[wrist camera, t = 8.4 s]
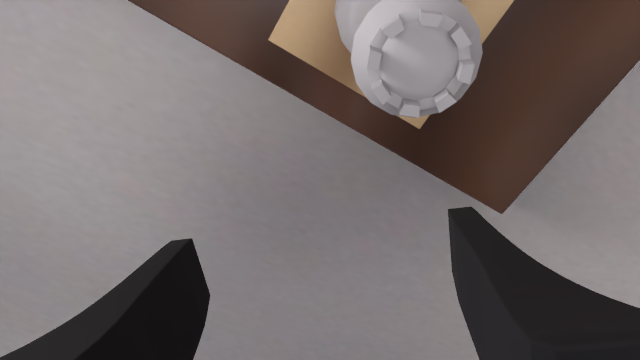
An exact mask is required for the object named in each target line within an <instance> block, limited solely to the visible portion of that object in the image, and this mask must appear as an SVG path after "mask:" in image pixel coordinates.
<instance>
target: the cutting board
mask: <svg viewBox="0 0 640 360" xmlns="http://www.w3.org/2000/svg"><path fill="white" fill-rule="evenodd" d="M128 1H130V2H132V3H134V4H135V5H137V6H139V7H141V8H142V9H144V10H146V11H148V12H149V13H151V14H153V15H155V16H156V17H158V18H160V19H161V20H163V21H165V22H167V23H168V24H170V25H172V26H174V27H175V28H177V29H179V30H181V31H182V32H184V33H186V34H188V35H189V36H191V37H193V38H195V39H196V40H198V41H200V42H202V43H203V44H205V45H207V46H209V47H210V48H212V49H214V50H216V51H217V52H219V53H221V54H223V55H224V56H226V57H228V58H230V59H231V60H233V61H235V62H237V63H238V64H240V65H242V66H244V67H245V68H247V69H249V70H251V71H252V72H254V73H256V74H258V75H259V76H261V77H263V78H265V79H266V80H268V81H270V82H272V83H273V84H275V85H277V86H279V87H280V88H282V89H284V90H286V91H287V92H289V93H291V94H293V95H294V96H296V97H298V98H300V99H301V100H303V101H305V102H307V103H308V104H310V105H312V106H314V107H315V108H317V109H319V110H321V111H322V112H324V113H326V114H328V115H329V116H331V117H333V118H335V119H336V120H338V121H340V122H342V123H343V124H345V125H347V126H349V127H350V128H352V129H354V130H356V131H357V132H359V133H361V134H363V135H364V136H366V137H368V138H370V139H371V140H373V141H375V142H376V143H378V144H380V145H382V146H383V147H385V148H387V149H389V150H390V151H392V152H394V153H396V154H397V155H399V156H401V157H403V158H404V159H406V160H408V161H410V162H411V163H413V164H415V165H417V166H418V167H420V168H422V169H424V170H425V171H427V172H429V173H431V174H432V175H434V176H436V177H438V178H439V179H441V180H443V181H445V182H446V183H448V184H450V185H452V186H453V187H455V188H457V189H459V190H460V191H462V192H464V193H466V194H467V195H469V196H471V197H473V198H474V199H476V200H478V201H480V202H481V203H483V204H485V205H487V206H488V207H490V208H492V209H494V210H495V211H497V212H499V213H501V214H502V213H503V212H504V211H505V210H506V209H507V208H508V207H509V206H510V204H511V203H512V202H513V201H514V200H515V199H516V198H517V197H518V196H519V194H520V193H521V192H522V191H523V190H524V189H525V188H526V187H527V185H528V184H529V183H530V182H531V181H532V180H533V179H534V178H535V176H536V175H537V174H538V173H539V172H540V171H541V170H542V169H543V167H544V166H545V165H546V164H547V163H548V162H549V161H550V160H551V159H552V157H553V156H554V155H555V154H556V153H557V152H558V151H559V150H560V148H561V147H562V146H563V145H564V144H565V143H566V142H567V141H568V139H569V138H570V137H571V136H572V135H573V134H574V133H575V132H576V131H577V129H578V128H579V127H580V126H581V125H582V124H583V123H584V122H585V120H586V119H587V118H588V117H589V116H590V115H591V114H592V113H593V111H594V110H595V109H596V108H597V107H598V106H599V105H600V104H601V102H602V101H603V100H604V99H605V98H606V97H607V96H608V95H609V94H610V92H611V91H612V90H613V89H614V88H615V87H616V86H617V85H618V83H619V82H620V81H621V80H622V79H623V78H624V77H625V76H626V74H627V73H628V72H629V71H630V70H631V69H632V68H633V67H634V65H635V64H636V63H637V62H638V61H639V60H640V0H461V3H462V4H463V5H465V6H466V7H467V9H468V10H469V12H470V14H471V15H472V17H473V18H474V20H475V22H476V23H477V25H478V26H479V29H480V36H481V44H482V51H483V54H482V58H481V61H480V65H479V69H478V72H477V76H476V78H475V80H474V81H473V83H472V84H471V85H470V87H469V88H468V89H467V91H466V92H465V93H464V95H463V96H462V97H461V99H459V100H458V101H457V102H456V103H454V104H453V105H451V106H450V107H448V108H447V109H445V110H444V111H442V112H440V113H435V114H430V115H426V116H422V117H420V118H418V117H417V118H412V117H405V116H397V115H391V114H389V113H388V112H386V111H384V110H382V109H381V108H379V107H377V106H375V105H374V104H372V103H371V102H370V101H369V100H368V99H367V97H366V96H365V95H364V93H363V92H362V91H361V89H360V88H359V87H358V85H357V84H356V80H355V76H354V72H353V68H352V64H351V53H350V52H349V50H348V49H347V48H346V46H345V45H344V44H343V42H342V41H341V37H340V33H339V29H338V25H337V21H336V17H335V13H334V11H335V4H336V0H128Z"/></svg>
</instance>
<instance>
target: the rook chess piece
mask: <svg viewBox="0 0 640 360" xmlns="http://www.w3.org/2000/svg"><path fill="white" fill-rule="evenodd" d="M334 13H335V17H336V21H337V25H338V29H339V33H340V37H341V41H342V42H343V44H344V45H345V46H346V48H347V49H348V50H349V52H350V53H351V64H352V68H353V72H354V76H355V80H356V84H357V85H358V87H359V88H360V89H361V91H362V92H363V93H364V95H365V96H366V97H367V99H368V100H369V101H370V102H371V103H372V104H374V105H375V106H377V107H379V108H381V109H382V110H384V111H386V112H388V113H389V114H391V115H397V116H405V117H412V118H417V117H418V118H420V117H422V116H426V115H430V114H435V113H440V112H442V111H444V110H445V109H447V108H448V107H450V106H451V105H453V104H454V103H456V102H457V101H458V100H459V99H461V97H462V96H463V95H464V93H465V92H466V91H467V89H468V88H469V87H470V85H471V84H472V83H473V81H474V80H475V78H476V76H477V72H478V69H479V65H480V61H481V58H482V54H483V51H482V44H481V36H480V29H479V26H478V25H477V23H476V22H475V20H474V18H473V17H472V15H471V14H470V12H469V10H468V9H467V7H466V6H465V5H463V4H462V3H461V0H336V4H335V11H334Z"/></svg>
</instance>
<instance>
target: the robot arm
mask: <svg viewBox="0 0 640 360" xmlns="http://www.w3.org/2000/svg"><path fill="white" fill-rule="evenodd" d="M448 217H449V232H450V247H451V262H452V273H453V277H454V282H455V287H456V291H457V296H458V300H459V304H460V306H461V309H462V312H463V315H464V318H465V321H466V323H467V326H468V329H469V332H470V334H471V337H472V340H473V343H474V346H475V348H476V351H477V354H478V357H479V359H480V360H640V308H637V307H634V306H631V305H628V304H625V303H622V302H620V301H617V300H614V299H611V298H609V297H606V296H604V295H601V294H599V293H596V292H594V291H592V290H589V289H587V288H585V287H583V286H581V285H579V284H576V283H574V282H572V281H570V280H568V279H566V278H564V277H563V276H561V275H559V274H557V273H556V272H554V271H552V270H550V269H549V268H547V267H545V266H544V265H542V264H540V263H539V262H537V261H536V260H534V259H533V258H531V257H530V256H529V255H527V254H526V253H524V252H523V251H522V250H520V249H519V248H518V247H516V246H515V245H514V244H513V243H511V242H510V241H509V240H508V239H507V238H505V237H504V236H503V235H502V234H501V233H499V232H498V231H497V230H496V229H495V228H494V227H493V226H492V225H491V224H489V223H488V222H487V221H486V220H485V219H484V218H483V217H482V216H481V215H480V214H479V213H478V212H477V211H476V210H475V209H473V208H472V207H463V208H455V209H448ZM209 300H210V293H209V290H208V287H207V284H206V280H205V277H204V274H203V271H202V268H201V265H200V262H199V259H198V256H197V252H196V249H195V246H194V243H193V240H192V239H183V240H175V241H171V242H169V243H168V244H166V245H165V246H164V247H163V248H161V249H160V250H159V251H158V252H156V253H155V254H154V255H153V256H152V257H151V258H149V259H148V260H147V261H146V262H145V263H144V264H142V265H141V266H140V267H139V268H138V269H136V270H135V271H134V272H133V273H132V274H131V275H129V276H128V277H127V278H126V279H125V280H123V281H122V282H121V283H120V284H118V285H117V286H116V287H115V288H113V289H112V290H111V291H109V292H108V293H107V294H106V295H104V296H103V297H102V298H100V299H99V300H98V301H97V302H95V303H94V304H92V305H91V306H90V307H88V308H87V309H85V310H84V311H83V312H81V313H80V314H78V315H76V316H75V317H73V318H72V319H70V320H69V321H67V322H66V323H64V324H62V325H61V326H59V327H57V328H56V329H54V330H52V331H50V332H49V333H47V334H45V335H43V336H41V337H40V338H38V339H36V340H34V341H33V342H31V343H29V344H27V345H25V346H23V347H21V348H19V349H17V350H15V351H13V352H11V353H9V354H7V355H5V356H2V357H0V360H193V358H194V355H195V353H196V350H197V347H198V344H199V341H200V338H201V335H202V332H203V329H204V326H205V321H206V316H207V311H208V305H209Z"/></svg>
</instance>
